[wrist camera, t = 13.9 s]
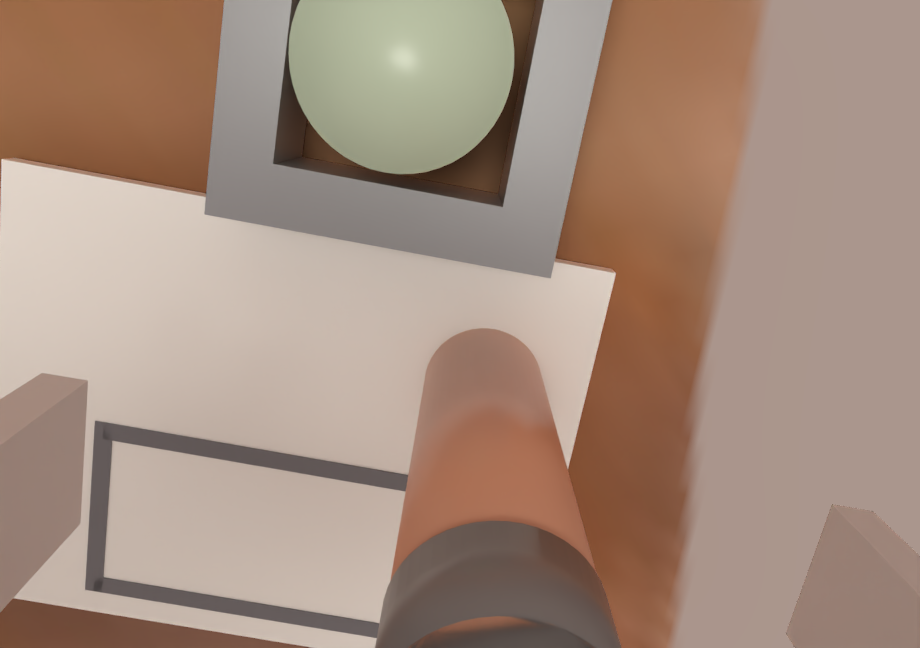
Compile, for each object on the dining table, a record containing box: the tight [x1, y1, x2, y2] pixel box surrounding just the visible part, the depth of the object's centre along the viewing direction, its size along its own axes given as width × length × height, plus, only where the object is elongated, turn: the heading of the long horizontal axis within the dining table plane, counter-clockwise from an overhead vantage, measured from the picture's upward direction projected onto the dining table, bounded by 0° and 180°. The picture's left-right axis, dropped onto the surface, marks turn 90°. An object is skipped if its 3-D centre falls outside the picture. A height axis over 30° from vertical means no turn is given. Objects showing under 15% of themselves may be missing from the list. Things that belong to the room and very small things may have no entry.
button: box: [288, 0, 514, 174], centre depth 16 cm, size 4×4×3 cm
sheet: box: [0, 158, 616, 648], centre depth 21 cm, size 16×13×1 cm
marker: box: [375, 328, 621, 648], centre depth 15 cm, size 3×3×12 cm
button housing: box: [204, 0, 612, 278], centre depth 17 cm, size 8×8×3 cm
